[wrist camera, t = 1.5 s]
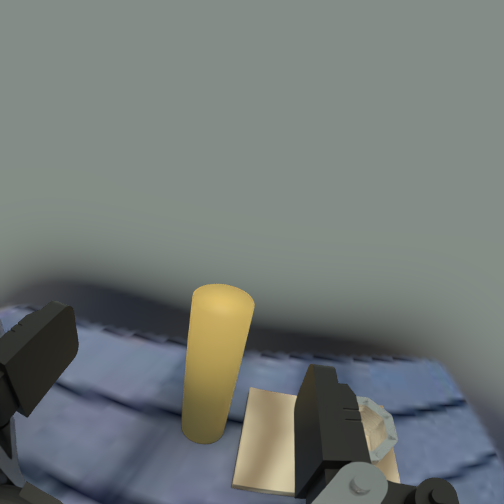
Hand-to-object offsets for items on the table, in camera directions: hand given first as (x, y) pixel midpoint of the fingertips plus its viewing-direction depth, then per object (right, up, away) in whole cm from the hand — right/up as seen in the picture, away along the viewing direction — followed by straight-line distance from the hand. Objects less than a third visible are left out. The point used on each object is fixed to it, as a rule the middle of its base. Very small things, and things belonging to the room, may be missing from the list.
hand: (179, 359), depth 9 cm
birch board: (+9, -17, +18) cm, 27 cm away
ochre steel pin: (-3, -15, +18) cm, 24 cm away
